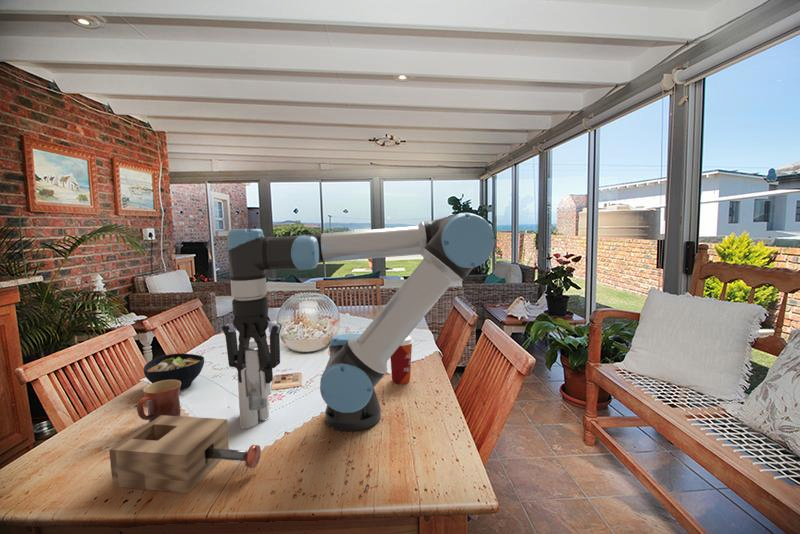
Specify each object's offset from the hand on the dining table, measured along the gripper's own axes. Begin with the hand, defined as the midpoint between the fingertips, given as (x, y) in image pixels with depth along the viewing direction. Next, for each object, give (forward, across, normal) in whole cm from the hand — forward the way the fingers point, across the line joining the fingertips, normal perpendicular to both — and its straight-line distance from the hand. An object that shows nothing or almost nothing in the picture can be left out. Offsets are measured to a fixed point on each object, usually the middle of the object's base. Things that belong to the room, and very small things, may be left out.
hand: (256, 395), depth 89 cm
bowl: (+13, +45, -30) cm, 55 cm away
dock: (+13, +16, +9) cm, 22 cm away
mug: (+13, +32, -7) cm, 35 cm away
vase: (+13, +9, -14) cm, 21 cm away
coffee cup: (+14, -28, -43) cm, 53 cm away
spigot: (+3, 0, 0) cm, 3 cm away
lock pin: (+11, +3, +9) cm, 15 cm away
